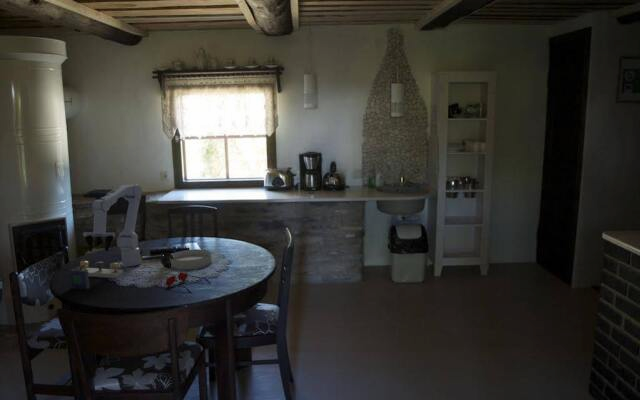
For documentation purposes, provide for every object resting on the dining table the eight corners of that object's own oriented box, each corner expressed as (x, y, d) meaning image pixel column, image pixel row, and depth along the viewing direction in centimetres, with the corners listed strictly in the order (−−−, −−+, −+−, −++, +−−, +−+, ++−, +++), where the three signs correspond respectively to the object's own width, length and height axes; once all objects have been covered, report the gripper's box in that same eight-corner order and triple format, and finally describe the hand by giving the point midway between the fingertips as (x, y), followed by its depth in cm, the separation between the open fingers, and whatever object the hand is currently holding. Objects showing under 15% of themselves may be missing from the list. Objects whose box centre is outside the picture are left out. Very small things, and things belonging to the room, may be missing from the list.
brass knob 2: (118, 269, 259) (118, 261, 258) (120, 271, 256) (119, 263, 255) (110, 270, 257) (109, 263, 256) (111, 272, 254) (111, 264, 253)
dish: (161, 267, 270) (160, 258, 269) (186, 256, 290) (186, 247, 289) (195, 271, 261) (195, 262, 261) (219, 259, 282) (219, 251, 281)
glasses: (186, 279, 249) (185, 269, 248) (211, 284, 241) (211, 274, 240) (164, 288, 237) (164, 278, 236) (190, 293, 229) (189, 283, 228)
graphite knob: (103, 268, 261) (102, 260, 261) (104, 270, 258) (104, 262, 257) (95, 269, 259) (94, 262, 259) (96, 271, 256) (95, 264, 255)
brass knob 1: (88, 267, 263) (88, 260, 263) (89, 269, 260) (89, 261, 259) (80, 268, 261) (79, 261, 261) (81, 270, 258) (80, 263, 257)
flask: (91, 287, 239) (88, 266, 237) (86, 290, 236) (84, 268, 234) (74, 286, 242) (72, 265, 240) (70, 288, 239) (67, 267, 237)
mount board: (123, 273, 260) (123, 269, 259) (114, 278, 253) (114, 274, 253) (86, 271, 265) (86, 267, 265) (77, 275, 258) (77, 271, 258)
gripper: (87, 223, 244) (85, 251, 244) (117, 224, 254) (116, 251, 253) (82, 223, 249) (81, 250, 249) (112, 223, 259) (111, 250, 258)
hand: (98, 251), depth 251 cm, fingers open, 7 cm apart
